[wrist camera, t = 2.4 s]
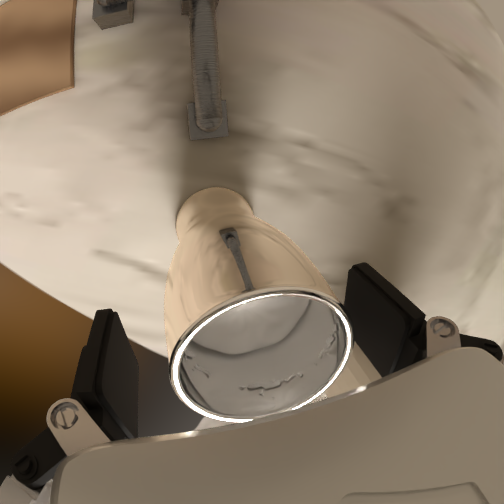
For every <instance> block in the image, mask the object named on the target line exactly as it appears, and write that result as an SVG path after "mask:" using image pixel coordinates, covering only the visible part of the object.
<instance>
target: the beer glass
mask: <svg viewBox="0 0 504 504" xmlns="http://www.w3.org/2000/svg"><path fill="white" fill-rule="evenodd" d="M176 233H177V237H178V240H179V244H178V247H177V249H176V251H175V253H174V255H173V258H172V261H171V264H170V267H169V270H168V274H167V279H166V287H165V295H164V324H165V335H166V344H167V351H168V358H169V376H170V381H171V384H172V387H173V389H174V391H175V393H176V394H177V396H178V397H179V398H180V399H181V401H183V402H184V403H185V404H186V405H187V406H188V407H189V408H191V409H192V410H194V411H195V412H197V413H199V414H201V415H203V416H206V417H209V418H212V419H215V420H220V421H225V422H236V423H240V422H245V421H249V420H254V419H258V418H262V417H266V416H270V415H274V414H278V413H282V412H285V411H289V410H292V409H296V408H299V407H302V406H305V405H307V404H308V403H310V402H312V401H313V400H315V399H316V398H317V397H319V396H320V395H321V394H323V393H324V392H325V391H326V390H327V389H328V388H329V387H330V386H331V385H332V384H333V383H334V382H335V381H336V380H337V379H338V378H339V376H340V375H341V374H342V372H343V371H344V369H345V367H346V366H347V364H348V362H349V360H350V357H351V355H352V352H353V348H354V342H355V329H354V324H353V321H352V318H351V316H350V314H349V312H348V311H347V309H346V308H345V307H344V306H343V305H342V304H341V303H340V301H339V300H338V298H337V297H336V296H335V294H334V292H333V291H332V289H331V288H330V286H329V285H328V283H327V282H326V280H325V279H324V278H323V276H322V275H321V273H320V272H319V270H318V269H317V268H316V266H315V265H314V264H313V263H312V262H311V260H310V259H309V258H308V257H307V256H306V254H305V253H304V252H303V251H302V250H301V249H300V248H299V247H298V246H297V245H296V244H295V243H294V242H293V241H292V240H291V239H290V238H289V237H288V236H286V235H285V234H284V233H283V232H281V231H280V230H278V229H277V228H275V227H274V226H272V225H270V224H269V223H267V222H265V221H263V220H261V219H259V218H257V217H255V216H254V214H253V212H252V209H251V207H250V205H249V204H248V202H247V201H246V200H245V199H244V198H243V197H242V196H241V195H240V194H238V193H237V192H235V191H232V190H230V189H226V188H221V187H211V188H206V189H203V190H200V191H198V192H196V193H195V194H193V195H192V196H191V197H189V198H188V199H187V200H186V201H185V203H184V204H183V205H182V207H181V209H180V210H179V213H178V216H177V220H176Z"/></svg>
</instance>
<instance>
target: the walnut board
mask: <svg viewBox="0 0 504 504" xmlns="http://www.w3.org/2000/svg"><path fill="white" fill-rule="evenodd" d="M76 3H77V0H10V1H9V2H7V3H5V4H3V5H1V6H0V116H2V115H4V114H6V113H8V112H11V111H13V110H15V109H17V108H20V107H22V106H24V105H27V104H29V103H32V102H34V101H37V100H39V99H42V98H45V97H47V96H50V95H53V94H56V93H59V92H62V91H65V90H68V89H71V88H74V28H75V14H76Z"/></svg>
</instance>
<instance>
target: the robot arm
mask: <svg viewBox="0 0 504 504" xmlns="http://www.w3.org/2000/svg"><path fill="white" fill-rule="evenodd" d="M344 307H345V308H346V309H347V311H348V312H349V314H350V316H351V318H352V321H353V324H354V329H355V342H354V348H353V352H352V355H351V357H350V360H349V362H348V364H347V366H346V367H345V369H344V371H343V372H342V374H341V375H340V376H339V378H338V379H337V380H336V381H335V382H334V383H333V384H332V385H331V386H330V387H329V388H328V389H327V390H326V391H325V392H324V393H323V394H321V395H320V396H323V397H327V399H325V400H322V401H318V402H315V403H312V404H309V405H306V406H302V407H299V408H296V409H292V410H289V411H285V412H282V413H278V414H274V415H270V416H266V417H262V418H258V419H254V420H249V421H245V422H240V423H236V424H231V425H226V426H220V427H215V428H209V429H203V430H197V431H190V432H183V433H176V434H168V435H159V436H150V437H140V438H138V375H139V374H138V373H139V366H138V362H137V359H136V357H135V355H134V352H133V350H132V348H131V345H130V343H129V341H128V338H127V336H126V333H125V331H124V328H123V326H122V323H121V321H120V318H119V315H118V313H117V312H113V311H112V309H103V310H97V311H96V314H95V317H94V321H93V324H92V328H91V331H90V335H89V338H88V342H87V345H86V346H84V347H83V349H82V352H81V356H80V359H79V363H78V367H77V371H76V375H75V380H74V384H73V389H72V393H71V398H70V399H69V398H66V399H61V400H59V401H57V402H55V403H54V404H53V405H52V406H51V408H50V409H49V411H48V414H47V423H48V426H49V427H48V428H47V429H45V430H44V431H43V432H42V433H40V434H39V435H38V436H37V437H36V438H34V439H33V440H32V441H30V442H29V443H28V444H27V445H25V446H24V447H23V448H22V449H21V450H19V451H18V452H17V453H16V454H15V455H14V457H13V459H12V463H11V469H12V473H13V475H12V476H11V477H9V476H7V477H6V479H5V480H4V482H3V484H2V485H1V487H0V504H504V355H503V352H502V349H501V348H500V346H499V345H498V344H497V343H495V342H494V341H491V340H488V339H483V338H478V337H473V336H468V335H463V334H459V330H458V327H457V325H456V324H455V323H454V322H453V321H452V320H450V319H448V318H445V317H441V316H436V317H432V318H430V319H429V320H428V321H426V320H424V319H425V316H426V315H425V314H424V313H423V312H422V311H421V310H420V309H419V308H418V307H417V306H416V305H414V304H413V303H412V302H411V301H410V300H409V299H408V298H407V297H405V296H404V295H403V294H402V293H401V292H400V291H399V290H398V289H396V288H395V287H394V286H393V285H392V284H391V283H390V282H388V281H387V280H386V279H385V278H384V277H383V276H381V275H380V274H379V273H378V272H377V271H376V270H374V269H373V268H372V267H371V266H370V265H369V264H367V263H360V264H355V265H353V266H352V268H351V269H350V270H349V272H348V280H347V287H346V295H345V302H344Z"/></svg>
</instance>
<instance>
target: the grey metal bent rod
mask: <svg viewBox="0 0 504 504" xmlns="http://www.w3.org/2000/svg"><path fill="white" fill-rule="evenodd" d="M218 1H219V0H181V6H182V15H188V14H189V20H190V42H191V61H192V77H193V91H194V103H189V104H187V115H188V126H189V137H190V140H197V139H206V138H215V137H225V136H228V123H227V110H226V100H221V90H220V76H219V61H218V46H217V29H216V12H215V10H216V7H217V4H218ZM93 20H94V21H95V22H96V23H97V24H98V26H99V27H100V28H101V29H102V30H103V29H107V28H111V27H115V26H119V25H123V24H128V23H133V0H94V3H93Z"/></svg>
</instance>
